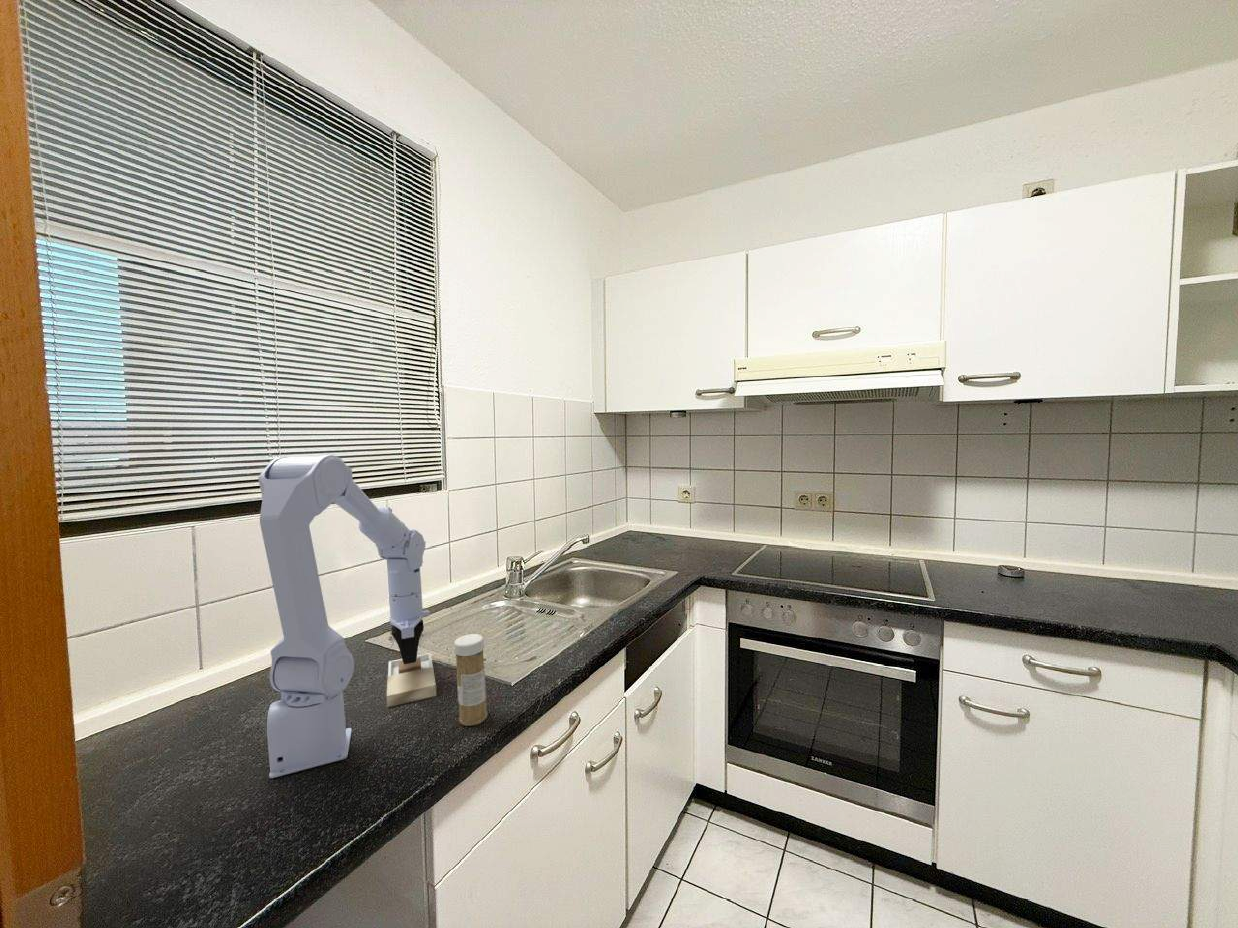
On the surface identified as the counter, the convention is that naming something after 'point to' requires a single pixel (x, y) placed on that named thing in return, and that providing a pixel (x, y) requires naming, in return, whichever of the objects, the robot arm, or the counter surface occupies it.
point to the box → (394, 665)
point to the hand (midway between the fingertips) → (409, 661)
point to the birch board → (410, 686)
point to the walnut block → (409, 666)
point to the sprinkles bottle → (471, 679)
